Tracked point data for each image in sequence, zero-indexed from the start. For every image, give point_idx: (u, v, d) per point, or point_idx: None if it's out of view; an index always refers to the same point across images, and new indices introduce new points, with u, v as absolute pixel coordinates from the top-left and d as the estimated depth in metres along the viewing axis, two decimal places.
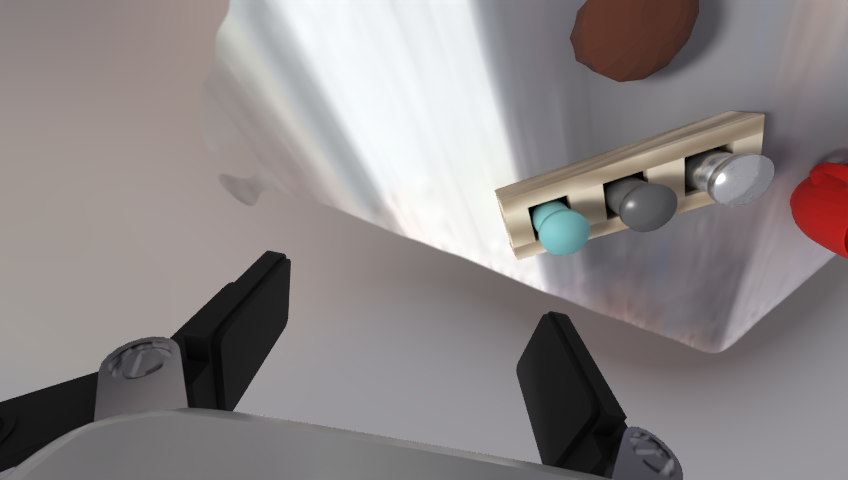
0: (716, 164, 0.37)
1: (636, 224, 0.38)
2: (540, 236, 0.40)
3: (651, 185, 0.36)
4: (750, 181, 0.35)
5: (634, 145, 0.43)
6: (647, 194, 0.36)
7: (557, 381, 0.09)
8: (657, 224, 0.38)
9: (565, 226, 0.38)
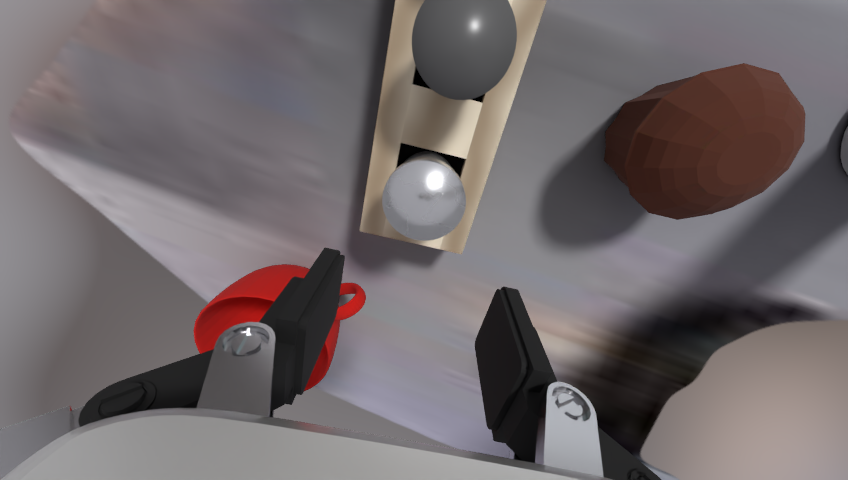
0: None
1: (446, 0, 0.17)
2: None
3: (509, 63, 0.18)
4: (419, 210, 0.22)
5: None
6: (499, 48, 0.18)
7: (501, 348, 0.10)
8: (421, 45, 0.18)
9: None
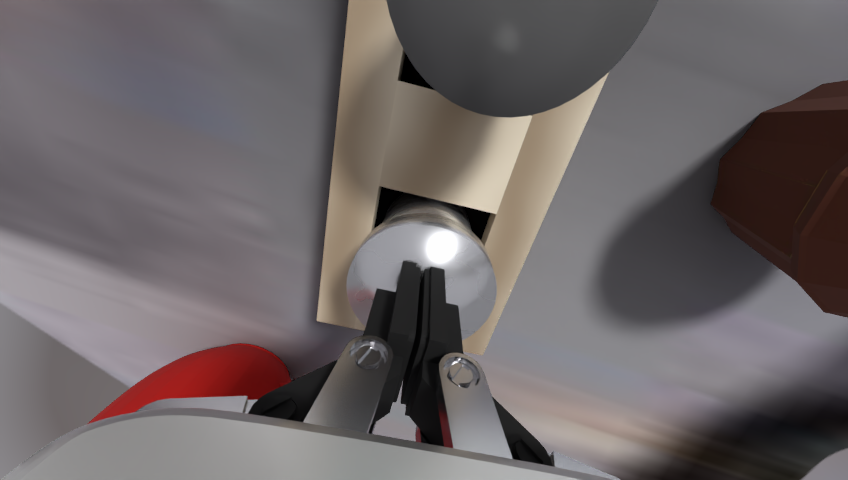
0: None
1: None
2: None
3: None
4: None
5: None
6: None
7: (417, 324, 0.10)
8: None
9: None
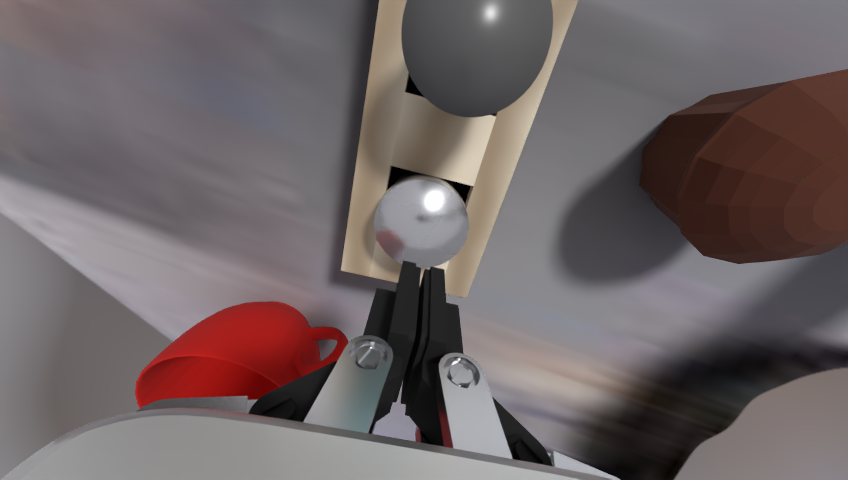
0: None
1: None
2: None
3: None
4: (415, 235, 0.20)
5: None
6: (527, 45, 0.12)
7: (417, 324, 0.10)
8: (415, 40, 0.12)
9: None
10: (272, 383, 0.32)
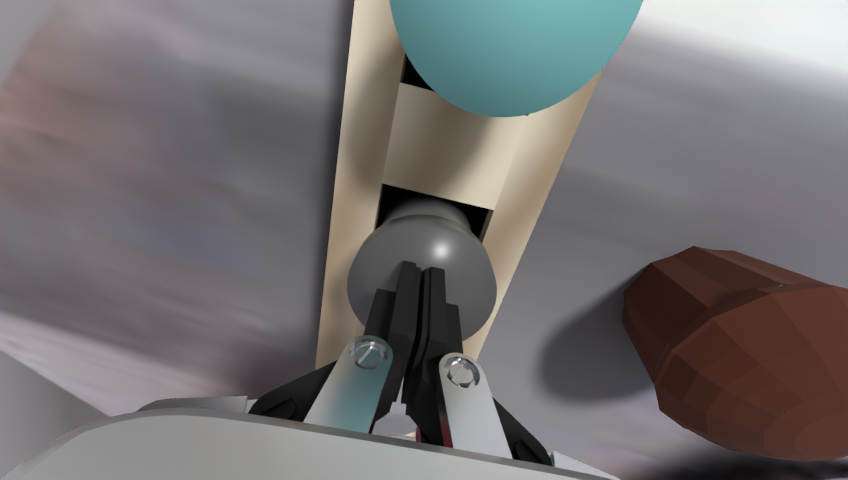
0: None
1: (392, 251, 0.12)
2: None
3: None
4: None
5: None
6: (472, 301, 0.12)
7: (417, 324, 0.10)
8: (361, 296, 0.13)
9: None
10: None
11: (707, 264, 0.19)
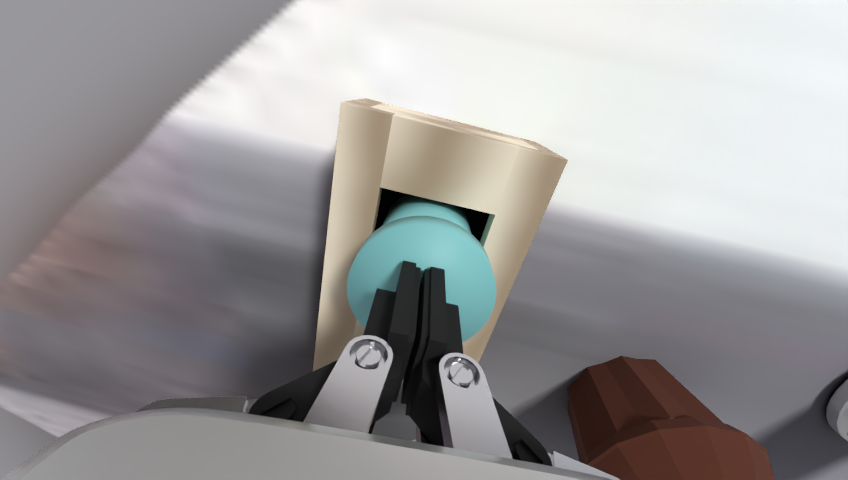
0: None
1: None
2: (454, 232, 0.11)
3: None
4: None
5: None
6: None
7: (417, 324, 0.10)
8: None
9: None
10: None
11: (626, 380, 0.23)
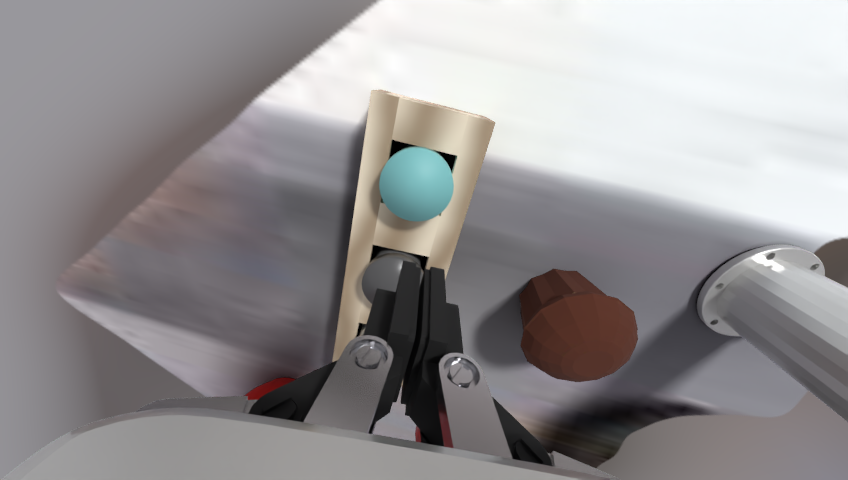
0: None
1: (380, 268, 0.28)
2: (432, 152, 0.24)
3: None
4: None
5: None
6: None
7: (417, 324, 0.10)
8: (367, 287, 0.29)
9: (430, 192, 0.25)
10: None
11: (554, 280, 0.34)
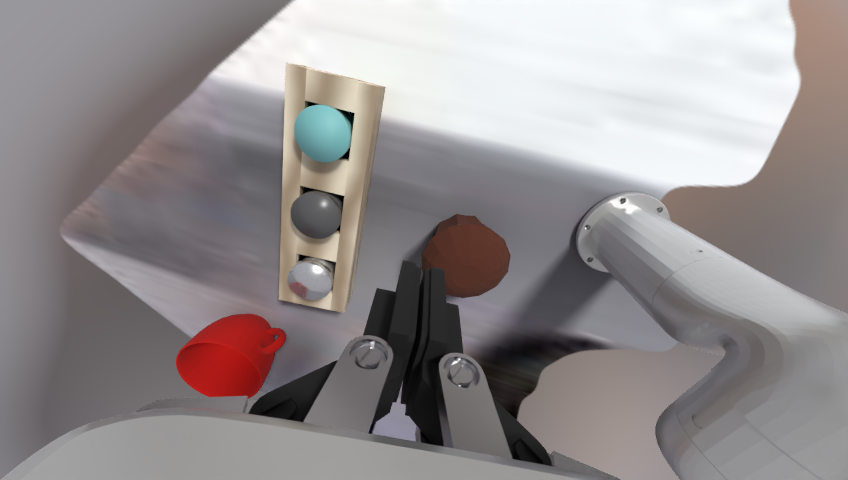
0: (330, 269, 0.44)
1: (303, 201, 0.37)
2: (330, 108, 0.33)
3: (338, 224, 0.39)
4: (307, 285, 0.43)
5: (361, 230, 0.46)
6: (331, 219, 0.38)
7: (417, 324, 0.10)
8: (295, 217, 0.38)
9: (332, 138, 0.34)
10: (249, 361, 0.55)
11: (451, 220, 0.43)
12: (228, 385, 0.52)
